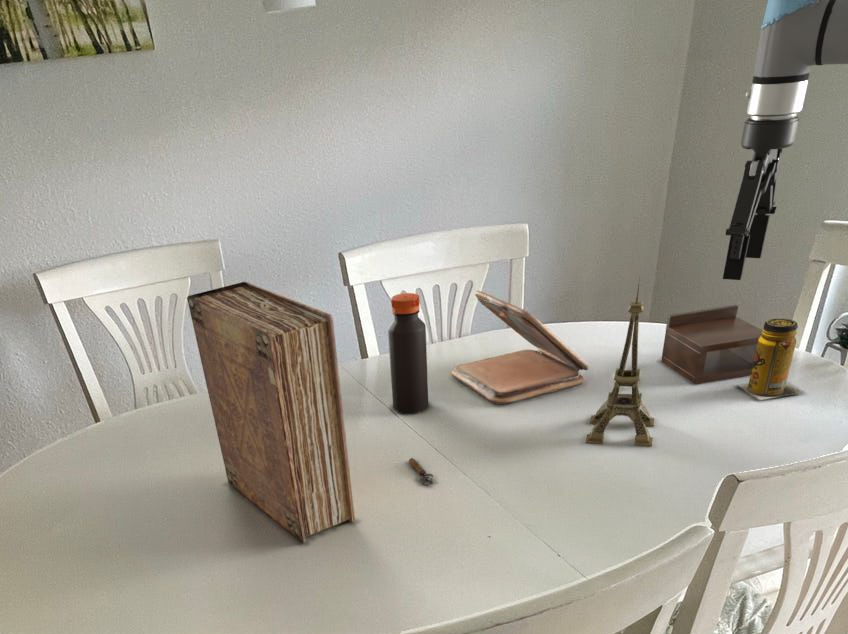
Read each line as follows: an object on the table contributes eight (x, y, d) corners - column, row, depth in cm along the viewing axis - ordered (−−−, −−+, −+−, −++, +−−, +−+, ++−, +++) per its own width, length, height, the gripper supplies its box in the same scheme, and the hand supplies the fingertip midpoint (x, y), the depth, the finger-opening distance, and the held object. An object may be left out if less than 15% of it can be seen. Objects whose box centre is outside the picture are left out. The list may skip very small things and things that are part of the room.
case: (592, 384, 149) (601, 296, 139) (497, 408, 144) (499, 319, 134) (535, 353, 165) (539, 272, 154) (446, 375, 159) (444, 292, 149)
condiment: (737, 386, 143) (751, 319, 135) (780, 379, 144) (797, 312, 136) (759, 401, 137) (775, 331, 130) (804, 394, 138) (823, 324, 130)
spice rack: (764, 373, 147) (775, 324, 141) (694, 384, 145) (703, 335, 140) (726, 351, 157) (735, 304, 151) (660, 361, 155) (668, 315, 150)
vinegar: (418, 397, 152) (414, 289, 139) (434, 408, 147) (431, 297, 134) (387, 405, 150) (379, 296, 137) (402, 417, 145) (395, 305, 132)
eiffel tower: (653, 419, 135) (677, 264, 119) (651, 446, 127) (676, 284, 112) (591, 417, 138) (606, 265, 122) (585, 442, 130) (600, 284, 115)
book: (356, 523, 116) (333, 315, 98) (303, 545, 113) (269, 334, 94) (276, 466, 134) (243, 280, 115) (227, 483, 130) (186, 294, 111)
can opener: (408, 464, 130) (408, 457, 130) (421, 462, 131) (421, 455, 130) (423, 488, 123) (423, 482, 123) (437, 486, 124) (437, 479, 123)
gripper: (765, 105, 126) (737, 248, 140) (724, 129, 111) (698, 287, 124) (816, 104, 123) (782, 250, 136) (781, 128, 107) (748, 290, 121)
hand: (742, 268), depth 130 cm, fingers open, 13 cm apart
